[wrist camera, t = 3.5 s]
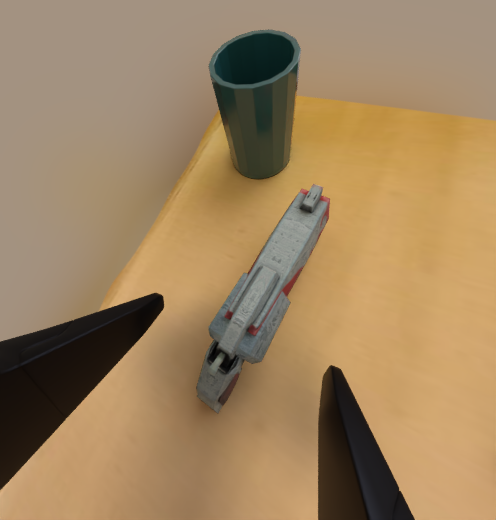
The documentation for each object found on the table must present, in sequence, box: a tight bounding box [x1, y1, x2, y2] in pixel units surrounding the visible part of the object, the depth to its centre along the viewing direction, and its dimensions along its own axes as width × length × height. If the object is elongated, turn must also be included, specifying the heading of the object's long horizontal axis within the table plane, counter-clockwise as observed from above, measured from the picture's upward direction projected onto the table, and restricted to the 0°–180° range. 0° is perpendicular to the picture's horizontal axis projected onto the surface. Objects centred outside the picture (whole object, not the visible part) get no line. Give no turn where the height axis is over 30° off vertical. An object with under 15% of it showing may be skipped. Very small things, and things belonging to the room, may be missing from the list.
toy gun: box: [197, 184, 330, 413], centre depth 16 cm, size 4×20×10 cm, turn 150°
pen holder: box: [209, 30, 301, 179], centre depth 20 cm, size 8×8×10 cm
